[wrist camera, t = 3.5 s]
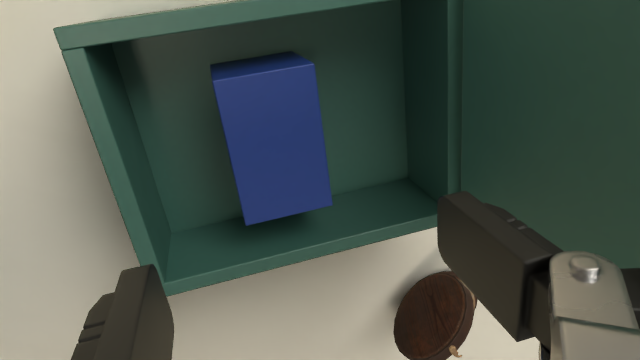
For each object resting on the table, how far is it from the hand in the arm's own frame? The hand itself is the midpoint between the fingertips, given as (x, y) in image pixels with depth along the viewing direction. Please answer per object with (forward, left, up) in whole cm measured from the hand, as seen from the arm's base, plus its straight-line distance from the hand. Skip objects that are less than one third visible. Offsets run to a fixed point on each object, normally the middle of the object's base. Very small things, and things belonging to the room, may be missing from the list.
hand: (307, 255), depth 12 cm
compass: (+12, -16, -14) cm, 24 cm away
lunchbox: (+2, 0, -14) cm, 14 cm away
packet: (+1, 0, -13) cm, 13 cm away
